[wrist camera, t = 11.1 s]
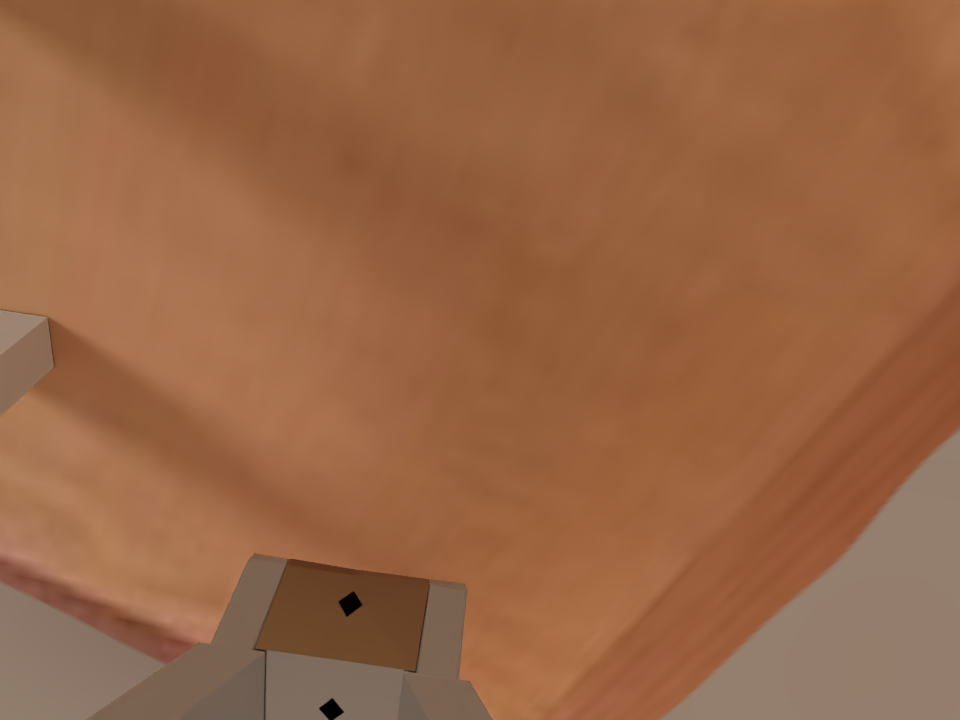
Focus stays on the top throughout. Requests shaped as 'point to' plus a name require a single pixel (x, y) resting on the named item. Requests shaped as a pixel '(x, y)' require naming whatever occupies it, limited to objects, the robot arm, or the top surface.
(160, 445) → the top surface
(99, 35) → the top surface
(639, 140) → the top surface
